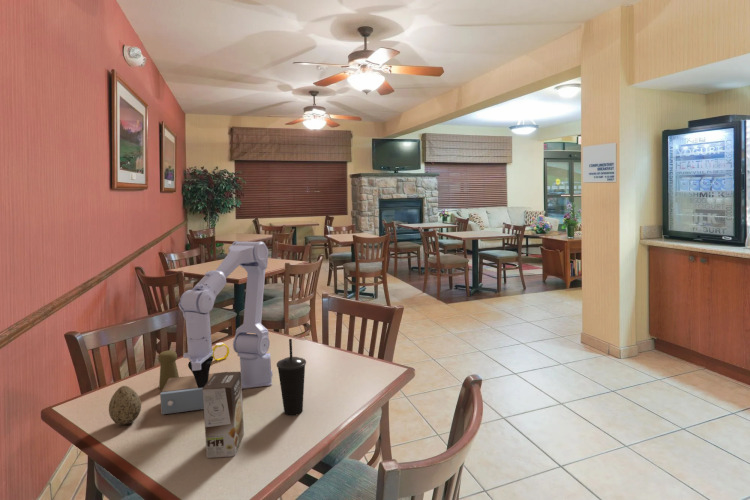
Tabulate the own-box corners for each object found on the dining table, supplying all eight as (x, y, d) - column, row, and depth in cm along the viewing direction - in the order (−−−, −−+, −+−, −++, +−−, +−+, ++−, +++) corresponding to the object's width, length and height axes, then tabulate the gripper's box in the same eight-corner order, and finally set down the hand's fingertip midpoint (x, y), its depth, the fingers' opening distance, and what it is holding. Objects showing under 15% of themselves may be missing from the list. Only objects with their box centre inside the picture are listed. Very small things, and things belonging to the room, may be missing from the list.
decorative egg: (145, 423, 109) (142, 386, 108) (113, 433, 104) (109, 395, 103) (138, 413, 114) (135, 377, 113) (107, 422, 110) (104, 385, 108)
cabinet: (228, 391, 127) (227, 371, 126) (225, 405, 118) (224, 384, 117) (170, 398, 123) (169, 378, 122) (163, 413, 114) (161, 391, 113)
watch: (214, 363, 150) (212, 347, 149) (211, 361, 152) (209, 345, 151) (231, 357, 154) (228, 342, 152) (227, 355, 156) (225, 340, 155)
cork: (172, 391, 127) (169, 355, 126) (154, 389, 129) (151, 354, 127) (184, 382, 133) (182, 348, 132) (167, 381, 135) (165, 347, 133)
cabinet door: (227, 403, 118) (226, 384, 117) (227, 408, 115) (225, 388, 115) (162, 412, 114) (161, 392, 113) (160, 417, 111) (158, 396, 111)
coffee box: (235, 456, 94) (231, 387, 92) (206, 458, 93) (201, 389, 92) (244, 434, 103) (241, 370, 101) (217, 435, 103) (213, 372, 101)
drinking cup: (283, 421, 109) (279, 346, 106) (275, 408, 115) (272, 337, 113) (311, 414, 112) (309, 340, 110) (302, 402, 119) (299, 333, 116)
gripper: (187, 329, 115) (191, 377, 117) (176, 347, 101) (180, 401, 103) (214, 326, 117) (218, 374, 118) (208, 344, 103) (211, 397, 104)
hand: (202, 386), depth 111 cm, fingers closed
